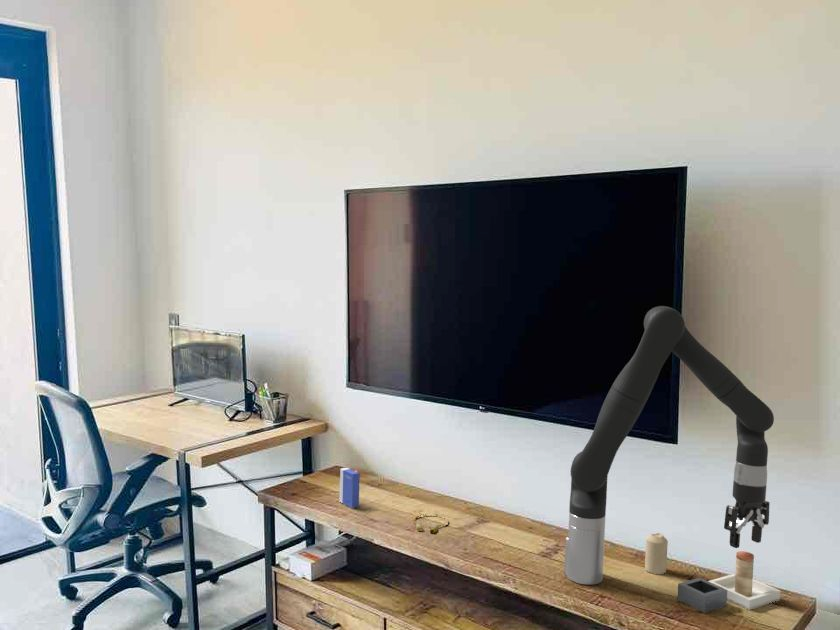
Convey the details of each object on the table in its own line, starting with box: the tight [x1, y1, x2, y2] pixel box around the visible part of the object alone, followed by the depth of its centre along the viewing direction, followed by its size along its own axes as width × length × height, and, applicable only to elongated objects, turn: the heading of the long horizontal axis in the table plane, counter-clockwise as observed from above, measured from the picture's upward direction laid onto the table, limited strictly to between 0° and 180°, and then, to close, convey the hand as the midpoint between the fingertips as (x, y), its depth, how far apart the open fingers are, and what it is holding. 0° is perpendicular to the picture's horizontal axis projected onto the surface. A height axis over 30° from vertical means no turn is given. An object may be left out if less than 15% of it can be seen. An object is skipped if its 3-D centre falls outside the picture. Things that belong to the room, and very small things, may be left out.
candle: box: [644, 532, 669, 575], centre depth 197 cm, size 6×6×10 cm
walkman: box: [338, 467, 361, 509], centre depth 244 cm, size 8×3×12 cm, turn 39°
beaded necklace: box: [413, 513, 441, 534], centre depth 228 cm, size 12×16×2 cm
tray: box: [708, 573, 781, 611], centre depth 183 cm, size 12×12×2 cm
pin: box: [734, 550, 755, 597], centre depth 182 cm, size 4×4×10 cm
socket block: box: [676, 577, 728, 614], centre depth 178 cm, size 8×8×4 cm
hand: (745, 544), depth 182 cm, fingers open, 8 cm apart
